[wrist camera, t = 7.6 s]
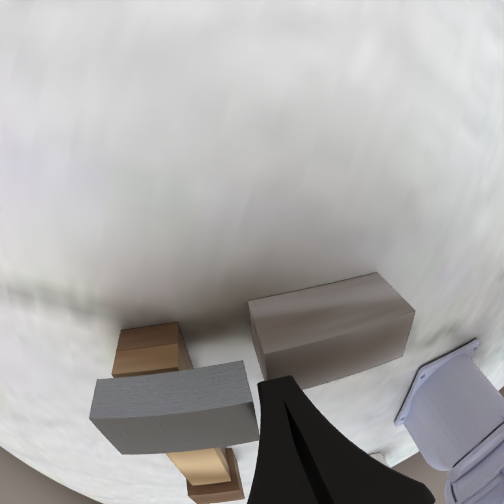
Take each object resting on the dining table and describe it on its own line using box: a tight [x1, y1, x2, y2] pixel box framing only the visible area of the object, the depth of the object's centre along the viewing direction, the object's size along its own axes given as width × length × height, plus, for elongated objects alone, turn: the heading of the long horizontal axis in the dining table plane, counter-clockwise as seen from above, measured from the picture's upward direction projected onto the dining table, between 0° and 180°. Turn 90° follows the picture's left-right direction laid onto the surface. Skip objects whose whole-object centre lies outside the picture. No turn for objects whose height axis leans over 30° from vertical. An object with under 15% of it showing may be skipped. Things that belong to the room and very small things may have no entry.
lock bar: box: [89, 360, 260, 454], centre depth 10 cm, size 3×6×2 cm, turn 96°
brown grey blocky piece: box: [116, 273, 415, 504], centre depth 16 cm, size 18×14×4 cm
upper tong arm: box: [112, 343, 231, 485], centre depth 15 cm, size 14×3×2 cm, turn 6°
